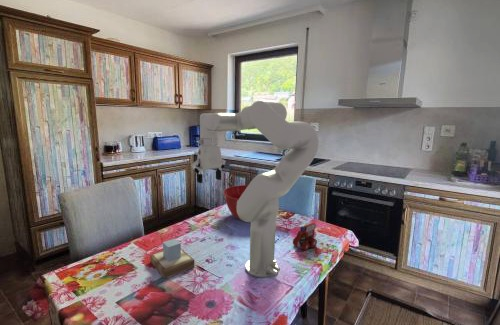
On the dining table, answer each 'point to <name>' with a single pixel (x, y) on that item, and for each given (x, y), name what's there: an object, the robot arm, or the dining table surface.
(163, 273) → the plinth
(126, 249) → the dining table surface
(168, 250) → the block
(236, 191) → the mixing bowl
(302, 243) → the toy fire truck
